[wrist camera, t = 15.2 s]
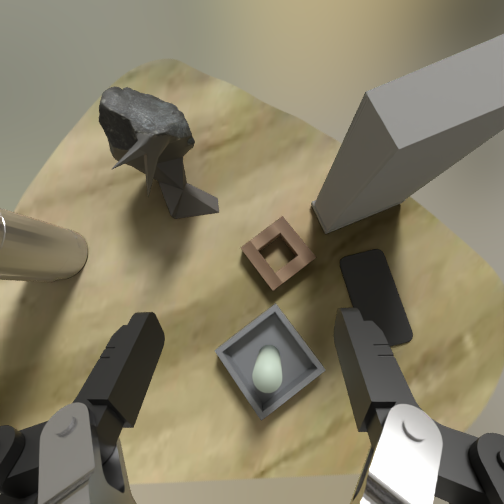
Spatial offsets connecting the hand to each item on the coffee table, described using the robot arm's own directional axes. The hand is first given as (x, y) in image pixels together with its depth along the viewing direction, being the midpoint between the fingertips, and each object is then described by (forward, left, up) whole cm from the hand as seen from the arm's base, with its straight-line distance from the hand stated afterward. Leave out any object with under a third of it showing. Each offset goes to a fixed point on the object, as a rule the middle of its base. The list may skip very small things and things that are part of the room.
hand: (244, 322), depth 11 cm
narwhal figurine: (0, +28, -31) cm, 41 cm away
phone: (+14, -10, -31) cm, 36 cm away
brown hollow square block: (+6, +5, -31) cm, 32 cm away
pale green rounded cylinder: (-5, -7, -29) cm, 31 cm away
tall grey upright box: (+22, +4, -31) cm, 38 cm away
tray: (-5, -7, -31) cm, 32 cm away
